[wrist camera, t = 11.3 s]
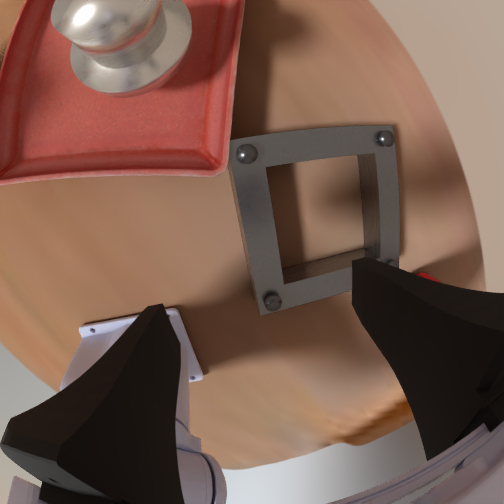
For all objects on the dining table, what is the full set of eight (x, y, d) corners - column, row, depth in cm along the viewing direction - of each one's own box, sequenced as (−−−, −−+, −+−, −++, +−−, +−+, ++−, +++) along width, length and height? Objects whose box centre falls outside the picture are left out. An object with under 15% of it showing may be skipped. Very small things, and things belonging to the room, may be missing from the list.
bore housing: (254, 298, 22) (262, 319, 19) (223, 143, 17) (227, 140, 15) (382, 263, 23) (401, 276, 20) (373, 126, 19) (396, 124, 16)
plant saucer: (246, -27, 13) (253, -49, 10) (224, 174, 18) (228, 178, 15) (47, -4, 9) (32, -18, 6) (11, 182, 15) (-13, 188, 12)
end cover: (91, 115, 13) (27, 97, 6) (79, 29, 10) (31, -16, 4) (203, 77, 13) (205, 24, 7) (182, -8, 11) (177, -75, 4)
